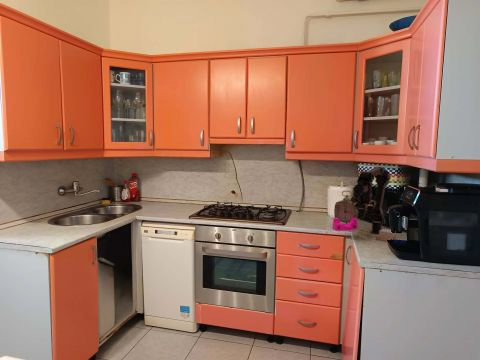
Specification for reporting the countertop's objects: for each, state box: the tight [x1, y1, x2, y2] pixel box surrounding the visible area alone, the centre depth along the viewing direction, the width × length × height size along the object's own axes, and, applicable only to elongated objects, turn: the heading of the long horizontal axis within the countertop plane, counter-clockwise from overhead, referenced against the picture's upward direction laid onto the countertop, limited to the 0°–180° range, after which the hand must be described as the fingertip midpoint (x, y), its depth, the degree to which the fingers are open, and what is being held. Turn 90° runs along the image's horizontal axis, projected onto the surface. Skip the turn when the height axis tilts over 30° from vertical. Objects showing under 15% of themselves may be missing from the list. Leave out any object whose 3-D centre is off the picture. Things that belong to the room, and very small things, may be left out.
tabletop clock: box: [333, 190, 359, 224], centre depth 219 cm, size 14×9×25 cm, turn 56°
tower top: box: [379, 228, 396, 238], centre depth 185 cm, size 7×7×3 cm
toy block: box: [332, 217, 358, 232], centre depth 210 cm, size 15×6×8 cm, turn 91°
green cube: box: [358, 229, 371, 240], centre depth 189 cm, size 4×4×4 cm
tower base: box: [375, 234, 398, 243], centre depth 186 cm, size 9×9×3 cm
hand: (365, 218), depth 189 cm, fingers open, 9 cm apart
